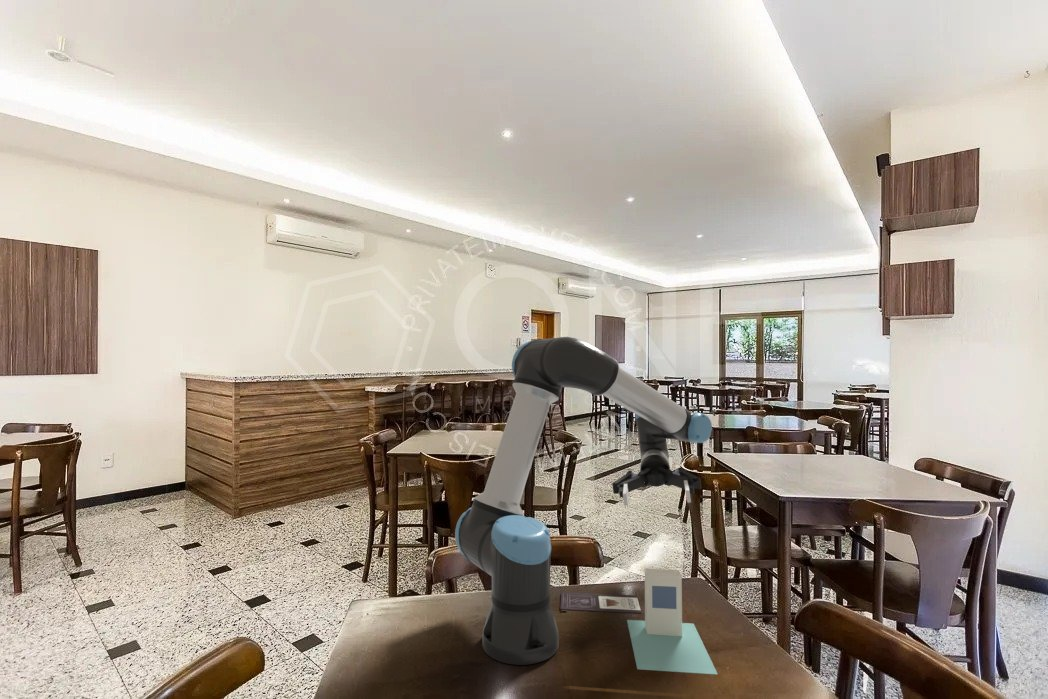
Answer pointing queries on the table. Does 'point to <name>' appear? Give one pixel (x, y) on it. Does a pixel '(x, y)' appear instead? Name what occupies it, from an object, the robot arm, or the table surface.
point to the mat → (670, 650)
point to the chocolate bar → (600, 602)
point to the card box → (663, 602)
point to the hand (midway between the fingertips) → (656, 498)
